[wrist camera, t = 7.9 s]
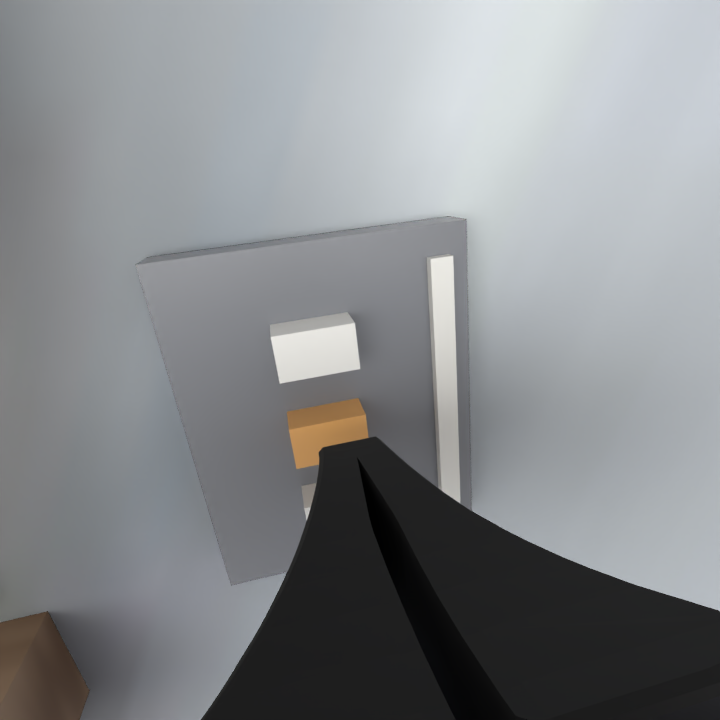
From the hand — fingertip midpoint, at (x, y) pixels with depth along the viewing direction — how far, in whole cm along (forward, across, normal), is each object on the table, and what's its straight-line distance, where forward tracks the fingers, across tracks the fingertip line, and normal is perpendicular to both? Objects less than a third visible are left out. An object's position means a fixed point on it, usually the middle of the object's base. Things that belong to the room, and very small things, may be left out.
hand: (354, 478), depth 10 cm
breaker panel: (+4, 0, 0) cm, 4 cm away
